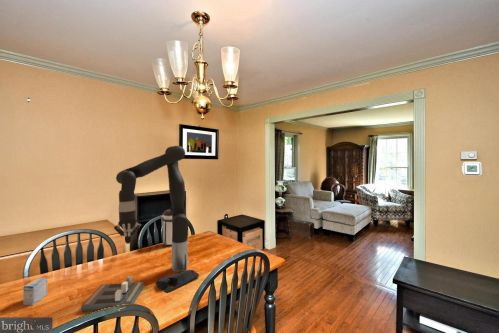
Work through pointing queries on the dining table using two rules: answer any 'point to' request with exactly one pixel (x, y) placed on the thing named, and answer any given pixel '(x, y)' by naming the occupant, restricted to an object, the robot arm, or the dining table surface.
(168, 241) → the coffee press
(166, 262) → the dining table surface
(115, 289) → the breaker panel
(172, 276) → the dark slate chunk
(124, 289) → the handle
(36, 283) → the medicine box
